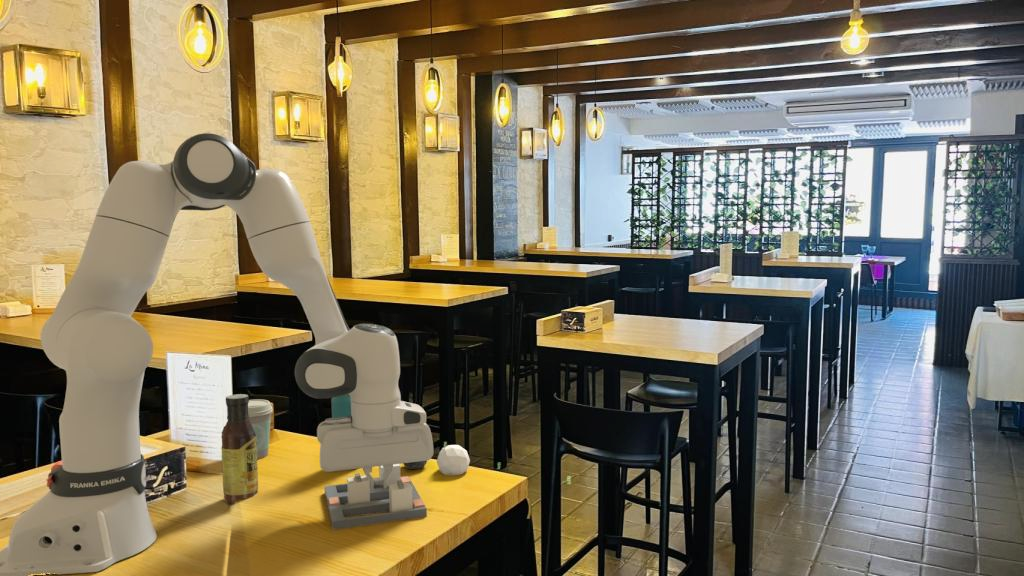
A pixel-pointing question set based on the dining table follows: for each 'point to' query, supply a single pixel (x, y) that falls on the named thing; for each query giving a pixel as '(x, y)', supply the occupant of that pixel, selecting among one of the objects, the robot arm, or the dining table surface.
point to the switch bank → (368, 507)
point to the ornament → (453, 460)
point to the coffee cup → (260, 424)
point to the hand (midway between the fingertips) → (378, 488)
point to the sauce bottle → (239, 451)
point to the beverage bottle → (341, 406)
